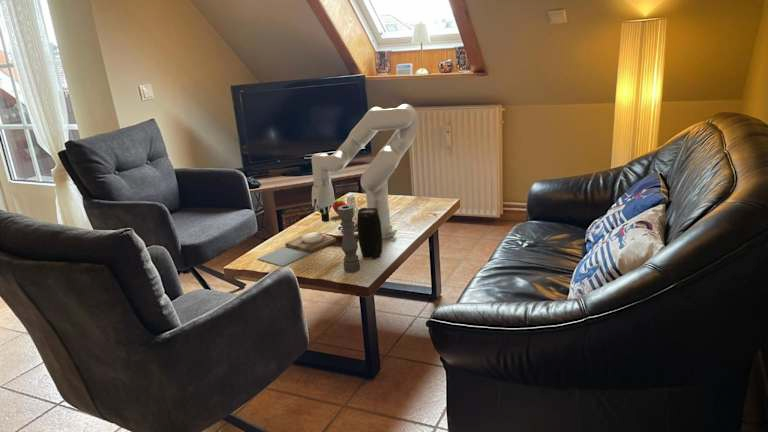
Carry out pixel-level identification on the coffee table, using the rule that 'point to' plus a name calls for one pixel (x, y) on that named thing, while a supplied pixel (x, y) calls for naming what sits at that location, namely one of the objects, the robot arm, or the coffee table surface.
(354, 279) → the coffee table surface
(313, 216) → the coffee table surface
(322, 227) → the coffee table surface
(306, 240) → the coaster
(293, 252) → the mat
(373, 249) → the portable speaker
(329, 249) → the coffee table surface
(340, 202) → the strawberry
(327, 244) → the riser
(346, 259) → the candle holder
